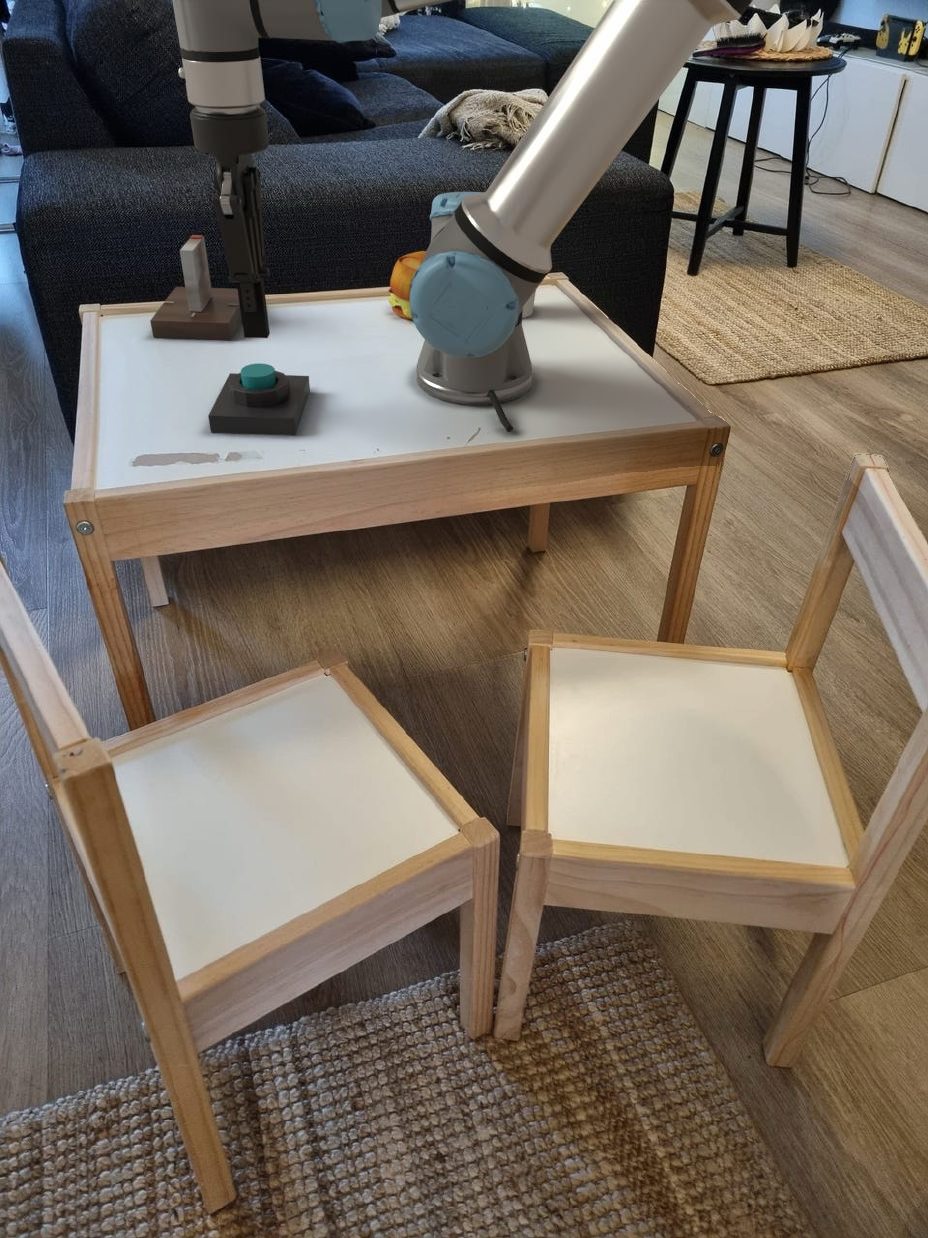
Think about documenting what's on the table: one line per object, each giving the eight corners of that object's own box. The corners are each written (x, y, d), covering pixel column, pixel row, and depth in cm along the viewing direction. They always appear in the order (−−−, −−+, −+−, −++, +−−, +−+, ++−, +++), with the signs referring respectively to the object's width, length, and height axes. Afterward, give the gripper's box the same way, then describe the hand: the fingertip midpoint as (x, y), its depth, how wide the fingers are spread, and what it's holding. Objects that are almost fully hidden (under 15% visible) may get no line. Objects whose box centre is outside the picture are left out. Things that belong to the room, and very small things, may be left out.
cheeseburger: (459, 300, 145) (460, 241, 137) (451, 341, 138) (452, 281, 131) (395, 295, 145) (392, 236, 137) (385, 336, 139) (381, 276, 131)
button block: (295, 435, 108) (292, 403, 106) (210, 432, 108) (205, 401, 106) (310, 391, 118) (307, 361, 115) (232, 389, 118) (228, 359, 115)
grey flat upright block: (201, 311, 131) (192, 248, 126) (189, 311, 131) (179, 248, 126) (212, 296, 136) (203, 234, 131) (200, 295, 136) (191, 234, 131)
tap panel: (231, 340, 130) (228, 321, 128) (153, 337, 130) (149, 319, 128) (250, 305, 141) (248, 287, 139) (178, 302, 141) (175, 285, 139)
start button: (273, 391, 109) (271, 377, 108) (239, 390, 109) (237, 376, 108) (278, 377, 112) (277, 363, 111) (245, 376, 112) (244, 362, 111)
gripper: (205, 94, 97) (236, 314, 112) (173, 118, 87) (212, 357, 102) (275, 95, 97) (297, 315, 112) (252, 119, 87) (279, 358, 102)
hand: (257, 335), depth 107 cm, fingers closed
